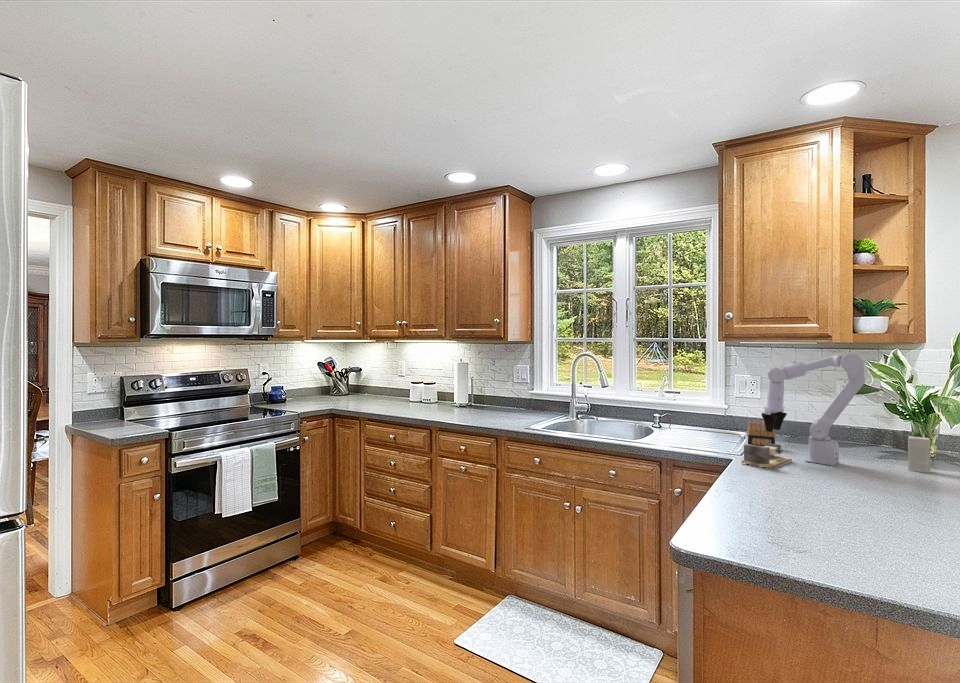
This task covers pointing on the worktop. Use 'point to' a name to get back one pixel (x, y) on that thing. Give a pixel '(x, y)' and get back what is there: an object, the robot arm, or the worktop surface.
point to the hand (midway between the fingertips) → (773, 430)
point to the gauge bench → (771, 462)
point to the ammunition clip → (760, 434)
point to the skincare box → (919, 454)
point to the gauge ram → (773, 448)
